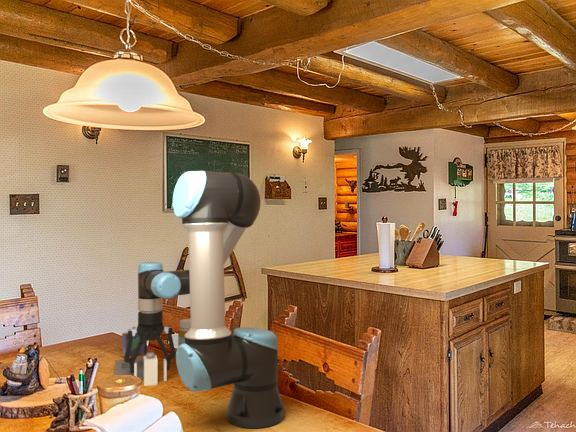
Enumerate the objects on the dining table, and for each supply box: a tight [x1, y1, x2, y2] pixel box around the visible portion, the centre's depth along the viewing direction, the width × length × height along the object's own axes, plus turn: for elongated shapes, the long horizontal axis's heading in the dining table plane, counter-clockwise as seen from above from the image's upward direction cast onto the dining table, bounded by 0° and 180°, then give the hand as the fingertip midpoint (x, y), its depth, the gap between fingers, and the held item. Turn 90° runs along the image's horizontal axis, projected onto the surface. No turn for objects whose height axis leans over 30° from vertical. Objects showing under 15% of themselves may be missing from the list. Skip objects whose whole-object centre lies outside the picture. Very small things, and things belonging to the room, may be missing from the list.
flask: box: [121, 326, 148, 359], centre depth 188 cm, size 9×3×11 cm, turn 122°
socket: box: [114, 357, 143, 380], centre depth 167 cm, size 14×13×4 cm
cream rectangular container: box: [142, 351, 159, 387], centre depth 158 cm, size 5×4×10 cm
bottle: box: [177, 318, 191, 348], centre depth 179 cm, size 7×7×15 cm
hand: (150, 381), depth 158 cm, fingers open, 8 cm apart
